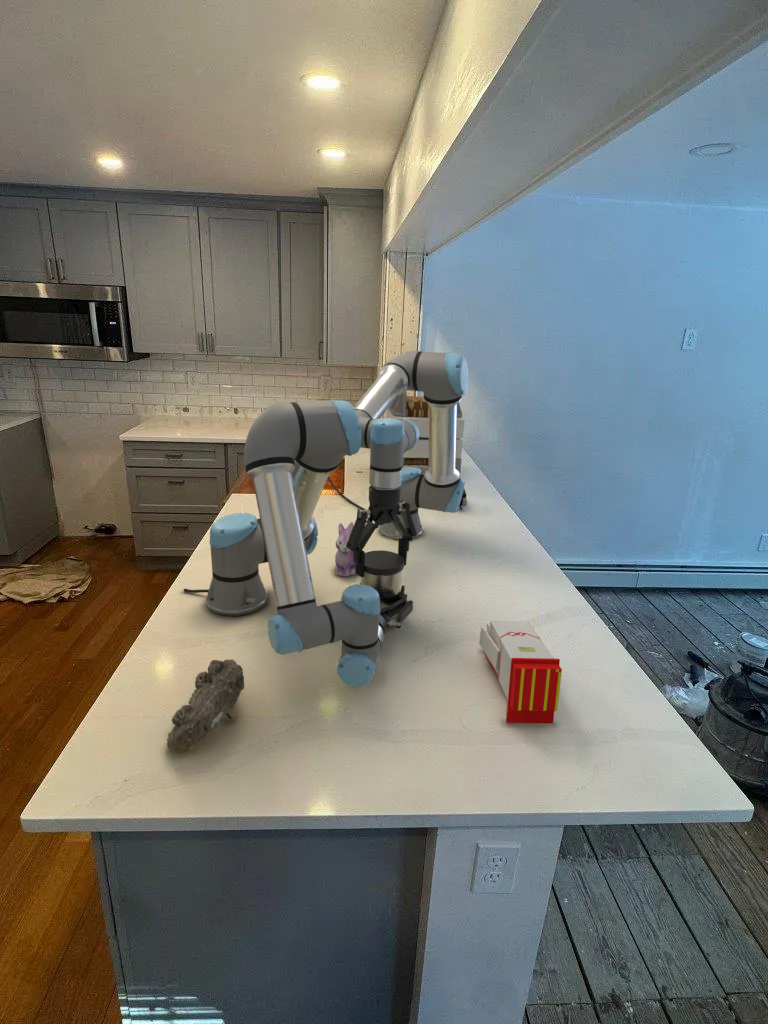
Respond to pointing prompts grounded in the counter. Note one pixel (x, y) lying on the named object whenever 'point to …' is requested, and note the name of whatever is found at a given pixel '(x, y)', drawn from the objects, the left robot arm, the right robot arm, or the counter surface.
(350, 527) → the figurine
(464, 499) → the figurine character
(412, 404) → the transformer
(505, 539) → the counter surface
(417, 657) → the counter surface
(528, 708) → the toy
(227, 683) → the fossil
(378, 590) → the jar
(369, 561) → the lid
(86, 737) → the counter surface
